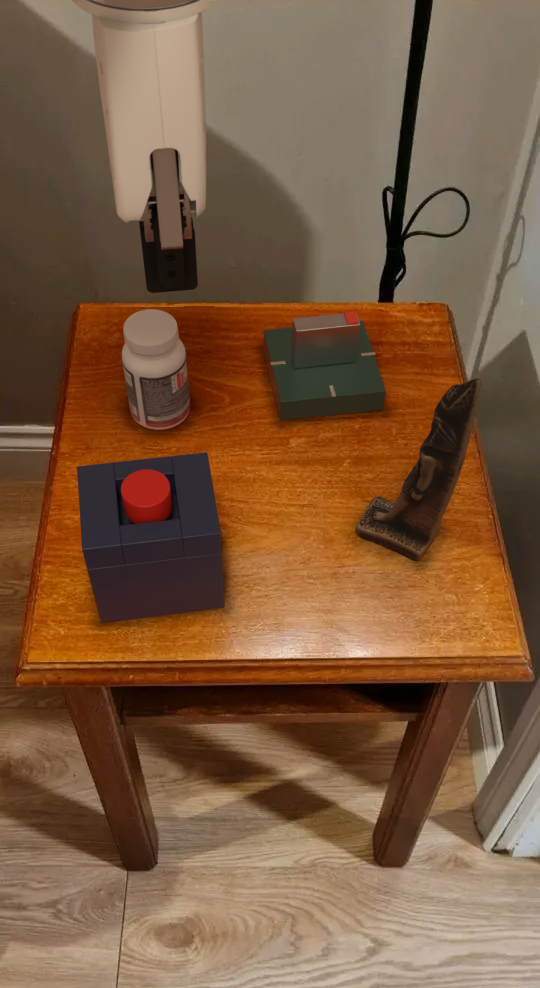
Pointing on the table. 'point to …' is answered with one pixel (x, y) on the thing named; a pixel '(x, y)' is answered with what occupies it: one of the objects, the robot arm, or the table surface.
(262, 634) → the table surface
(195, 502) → the button box
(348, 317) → the tap handle
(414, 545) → the statue
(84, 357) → the table surface
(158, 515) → the red button
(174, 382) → the pill bottle
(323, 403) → the panel
